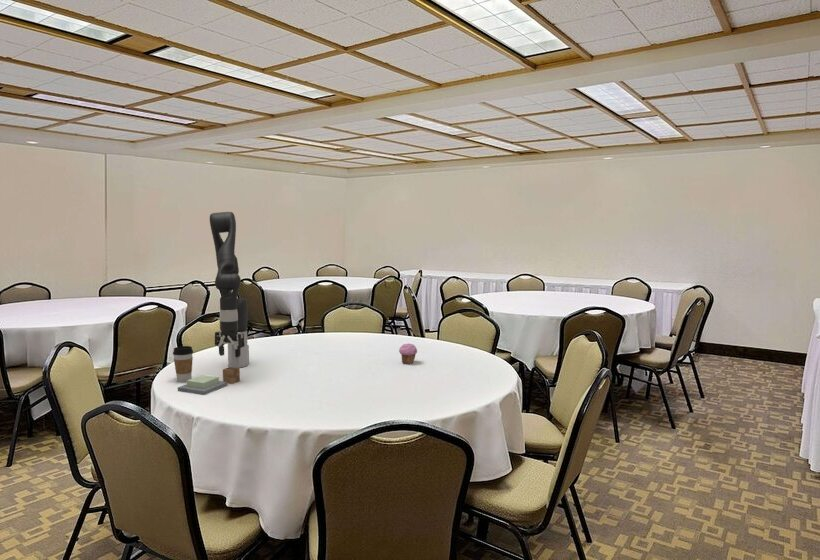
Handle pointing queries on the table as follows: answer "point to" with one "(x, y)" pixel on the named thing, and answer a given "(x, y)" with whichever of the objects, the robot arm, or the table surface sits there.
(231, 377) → the walnut block
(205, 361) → the table surface
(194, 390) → the stack base
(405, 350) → the cupcake
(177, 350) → the coffee cup
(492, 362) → the table surface
